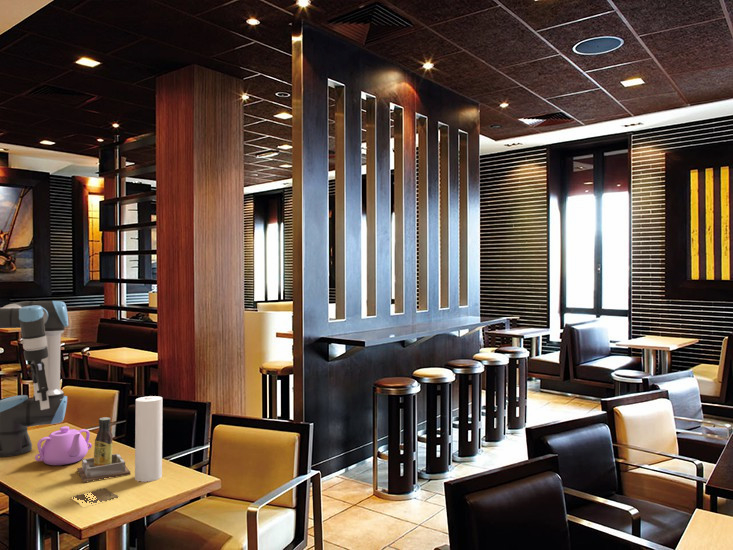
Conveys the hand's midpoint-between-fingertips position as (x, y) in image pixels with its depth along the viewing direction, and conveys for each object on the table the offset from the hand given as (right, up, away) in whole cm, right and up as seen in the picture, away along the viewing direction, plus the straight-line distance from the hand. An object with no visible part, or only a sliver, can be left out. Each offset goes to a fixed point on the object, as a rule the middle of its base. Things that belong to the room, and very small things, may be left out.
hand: (42, 404), depth 204 cm
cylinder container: (+38, -29, +3) cm, 48 cm away
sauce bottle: (+18, -27, +8) cm, 34 cm away
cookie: (+27, -29, -16) cm, 43 cm away
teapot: (-2, -29, +21) cm, 35 cm away
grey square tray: (+19, -28, +8) cm, 35 cm away
